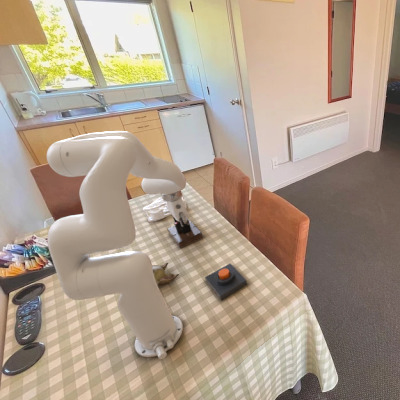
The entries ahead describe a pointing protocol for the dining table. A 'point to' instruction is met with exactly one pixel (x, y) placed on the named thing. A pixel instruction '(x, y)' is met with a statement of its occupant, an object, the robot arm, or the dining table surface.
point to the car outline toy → (158, 210)
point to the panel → (185, 235)
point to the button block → (226, 282)
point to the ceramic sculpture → (162, 274)
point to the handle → (179, 226)
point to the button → (224, 274)
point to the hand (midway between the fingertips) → (183, 227)
